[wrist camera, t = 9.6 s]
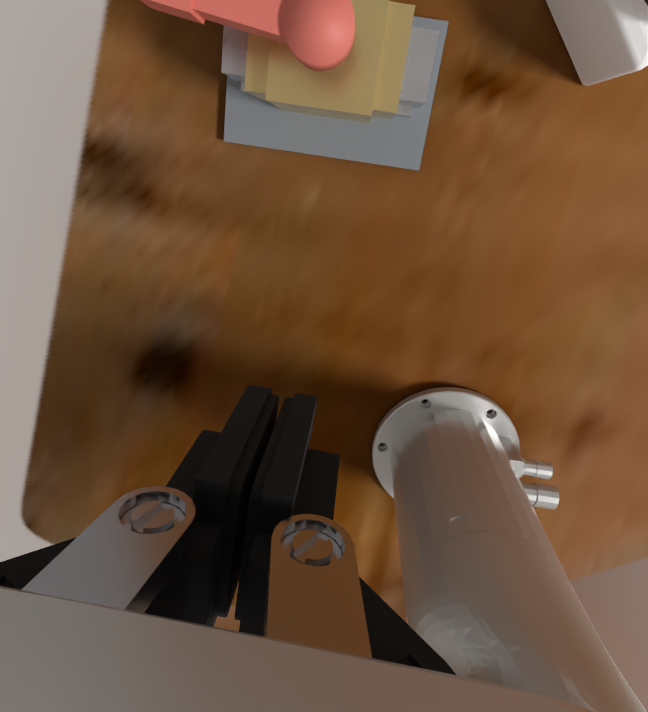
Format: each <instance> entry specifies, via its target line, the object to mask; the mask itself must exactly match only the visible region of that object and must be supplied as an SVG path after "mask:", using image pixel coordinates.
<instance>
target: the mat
mask: <svg viewBox="0 0 648 712" xmlns="http://www.w3.org/2000/svg"><path fill="white" fill-rule="evenodd" d="M448 22H449V21H443V20H437V19H430V18H423V17H416V16H413V22H412V27H418V28H425V29H432V30H438V31H439V36H438V41H437V46H436V52H435V57H434V62H433V67H432V72H431V77H430V83H429V88H428V93H427V98H426V103H425V104H424V105H422V106H421V107H420V108H412V114H411V116H410V117H409V118H406V117H399V116H393V118H392V119H386V118H380V117H373V116H371V119H370V122H369V123H363V122H356V121H349V120H342V119H336V118H329V117H322V116H316V115H309V114H302V113H295V112H289V111H283V110H281V109H279V108H278V107H276V106H274V105H273V104H271V103H269V102H267V101H265V100H260V99H259V98H257V97H255V96H253V95H251V94H246V93H244V92H242V91H241V82H237V81H234V80H233V79H231V78H229V77H228V76H227V89H226V107H225V125H224V141H225V142H232V143H239V144H245V145H252V146H259V147H266V148H272V149H279V150H286V151H292V152H299V153H306V154H312V155H319V156H326V157H332V158H339V159H346V160H352V161H359V162H366V163H372V164H379V165H386V166H392V167H399V168H406V169H412V170H419V168H420V163H421V158H422V153H423V148H424V143H425V138H426V133H427V128H428V123H429V118H430V113H431V108H432V103H433V98H434V93H435V87H436V82H437V77H438V72H439V67H440V62H441V57H442V52H443V47H444V42H445V37H446V32H447V27H448Z"/></svg>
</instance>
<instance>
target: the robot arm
mask: <svg viewBox="0 0 648 712" xmlns="http://www.w3.org/2000/svg"><path fill="white" fill-rule="evenodd" d="M424 399H427V400H426V401H422V400H424ZM278 403H279V396H277V395H272V389H271V388H266V387H260V386H255V385H248V387H247V388H246V390H245V392H244V394H243V395H242V397H241V399H240V401H239V402H238V404H237V406H236V408H235V409H234V411H233V413H232V415H231V416H230V418H229V420H228V422H227V423H226V425H225V427H224V428H223V430H222V432H221V433H219V432H214V431H208V430H203V431H202V432H201V433H200V435H199V436H198V438H197V439H196V441H195V443H194V444H193V446H192V447H191V449H190V450H189V452H188V453H187V455H186V456H185V458H184V459H183V461H182V462H181V464H180V466H179V467H178V469H177V470H176V472H175V473H174V475H173V476H172V478H171V479H170V481H169V482H168V484H167V485H166V487H164V486H149V487H144V488H139V489H136V490H133V491H131V492H128V493H126V494H124V495H123V496H122V497H120V498H119V499H117V500H116V501H115V502H114V503H113V504H112V505H111V506H110V507H109V508H108V509H107V510H106V511H104V512H103V513H102V514H101V515H100V516H99V517H98V518H97V519H96V520H95V521H94V522H93V523H92V524H91V525H90V526H88V527H87V528H86V529H85V530H84V531H83V532H82V533H81V534H80V535H79V536H78V537H76V538H73V539H70V540H67V541H64V542H61V543H58V544H55V545H52V546H49V547H46V548H43V549H40V550H37V551H34V552H30V553H27V554H24V555H21V556H19V557H15V558H12V559H9V560H6V561H3V562H0V712H647V711H646V710H645V709H644V707H643V705H642V704H641V703H640V701H639V700H638V698H637V697H636V695H635V694H634V692H633V691H632V689H631V688H630V686H629V685H628V684H627V682H626V680H625V679H624V677H623V676H622V674H621V673H620V671H619V669H618V668H617V666H616V665H615V663H614V661H613V660H612V658H611V657H610V655H609V654H608V652H607V651H606V649H605V647H604V645H603V643H602V642H601V640H600V638H599V636H598V634H597V632H596V631H595V629H594V627H593V625H592V623H591V621H590V619H589V618H588V616H587V614H586V612H585V610H584V608H583V607H582V605H581V603H580V601H579V599H578V597H577V595H576V593H575V591H574V589H573V587H572V585H571V583H570V581H569V579H568V577H567V575H566V573H565V571H564V569H563V567H562V565H561V563H560V561H559V559H558V557H557V555H556V553H555V551H554V549H553V547H552V545H551V543H550V541H549V539H548V537H547V535H546V533H545V531H544V529H543V527H542V525H541V523H540V520H539V518H538V516H537V514H536V512H535V510H534V508H533V506H535V507H541V508H547V509H555V508H557V506H558V503H559V492H558V489H557V488H556V487H555V486H550V485H544V484H537V483H533V484H530V483H524V482H521V480H520V478H519V477H522V476H523V475H528V476H533V477H536V478H543V479H550V478H551V476H552V473H553V467H552V464H551V463H549V462H543V461H536V460H534V461H531V460H525V459H524V457H523V456H520V445H519V439H518V435H517V432H516V429H515V427H514V425H513V423H512V422H511V420H510V418H509V417H508V415H507V414H506V413H505V411H504V410H503V409H502V408H501V407H500V406H499V405H498V404H496V403H495V402H494V401H493V400H491V399H490V398H488V397H486V396H484V395H483V394H480V393H478V392H475V391H472V390H469V389H463V388H457V387H438V388H433V389H428V390H424V391H421V392H418V393H416V394H413V395H411V396H409V397H407V398H405V399H404V400H402V401H400V402H399V403H398V404H397V405H395V406H394V407H393V408H392V409H391V410H390V411H389V412H388V413H387V414H386V415H385V417H384V418H383V419H382V421H381V422H380V424H379V426H378V428H377V430H376V432H375V436H374V440H373V447H372V458H373V467H374V470H375V473H376V476H377V478H378V480H379V482H380V483H381V485H382V487H383V488H384V489H385V490H386V491H387V493H388V494H389V495H390V496H391V497H393V498H394V502H395V512H396V521H397V531H398V541H399V551H400V561H401V571H402V581H403V590H404V598H405V608H406V616H407V621H408V624H407V623H406V622H405V621H404V620H403V619H402V618H401V617H400V616H399V615H398V614H397V613H396V612H395V611H394V610H393V609H392V608H391V607H389V606H388V605H387V604H386V603H385V602H384V601H383V600H382V599H381V598H380V597H379V596H378V595H377V594H376V593H375V592H374V591H373V590H372V589H371V588H370V587H369V586H368V585H367V584H366V583H365V582H364V581H363V580H362V579H361V578H360V577H359V574H358V568H357V562H356V556H355V550H354V544H353V542H352V539H351V536H350V535H349V533H348V532H347V531H346V530H345V529H344V527H342V526H341V525H339V524H338V523H337V522H335V521H333V516H334V506H335V497H336V487H337V478H338V468H339V458H340V455H339V454H334V453H328V452H323V451H317V450H312V449H309V445H310V439H311V433H312V428H313V422H314V416H315V410H316V404H317V397H316V396H310V395H304V394H299V393H295V395H294V398H288V397H286V398H285V400H284V403H283V405H282V408H281V411H280V413H279V416H278V419H277V421H276V418H277V411H278ZM488 410H490V411H488ZM381 443H383V444H381ZM238 581H239V586H238V594H237V602H236V610H235V619H236V620H240V628H239V632H238V631H233V630H228V629H222V628H217V627H213V626H214V624H215V620H216V618H217V616H220V617H227V615H228V612H229V609H230V606H231V603H232V600H233V597H234V594H235V591H236V588H237V584H238Z"/></svg>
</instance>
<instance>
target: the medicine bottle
mask: <svg viewBox="0 0 648 712" xmlns="http://www.w3.org/2000/svg"><path fill="white" fill-rule="evenodd" d="M546 2H547V5H548V7H549V9H550V12H551V14H552V16H553V18H554V21H555V23H556V25H557V28H558V30H559V32H560V34H561V37H562V39H563V41H564V44H565V46H566V48H567V51H568V53H569V55H570V57H571V60H572V62H573V64H574V67H575V69H576V71H577V73H578V76H579V78H580V80H581V83H582V84H583V85H584V86H589V85H593V84H596V83H599V82H602V81H606V80H609V79H612V78H616V77H619V76H622V75H625V74H629V73H632V72H635V71H638V70H641V69H643V68H644V67H646V66H647V65H648V0H546Z"/></svg>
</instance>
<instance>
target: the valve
mask: <svg viewBox="0 0 648 712" xmlns="http://www.w3.org/2000/svg"><path fill="white" fill-rule="evenodd" d="M351 3H352V5H353V9H354V15H355V39H354V44H353V47H352V50H351V52H350V54H349V55H348V57H347V58H346V59H345V61H344V62H343V63H342V64H340V65H339V66H338V67H336V68H334V69H332V70H329V71H314V70H311V69H309V68H307V67H305V66H304V65H303V64H301V63H300V62H299V61H298V59H297V58H296V57H295V55H294V54H293V52H292V50H291V49H290V47H289V46H288V45H287V44H284V43H281V42H277V41H274V40H271V39H268V38H264V37H261V36H258V35H255V34H251V33H248V32H245V31H242V30H238V29H235V28H232V27H229V26H225V25H224V29H223V49H222V68H221V73H223V74H224V75H226V76H228V77H229V78H231V79H233V80H234V81H237V82H241V91H242V92H244V93H246V94H251V95H253V96H255V97H257V98H259V99H260V100H265V101H267V102H269V103H271V104H273V105H274V106H276V107H278V108H279V109H281V110H283V111H289V112H295V113H302V114H309V115H316V116H322V117H329V118H336V119H342V120H349V121H356V122H363V123H369V122H370V119H371V116H373V117H380V118H386V119H392V118H393V116H399V117H406V118H409V117H410V116H411V114H412V108H420V107H421V106H422V105H424V104H425V103H426V98H427V93H428V88H429V83H430V77H431V72H432V67H433V62H434V57H435V52H436V46H437V41H438V36H439V31H438V30H432V29H425V28H418V27H412V22H413V16H414V10H415V5H410V4H404V3H397V2H390V0H351Z"/></svg>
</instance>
